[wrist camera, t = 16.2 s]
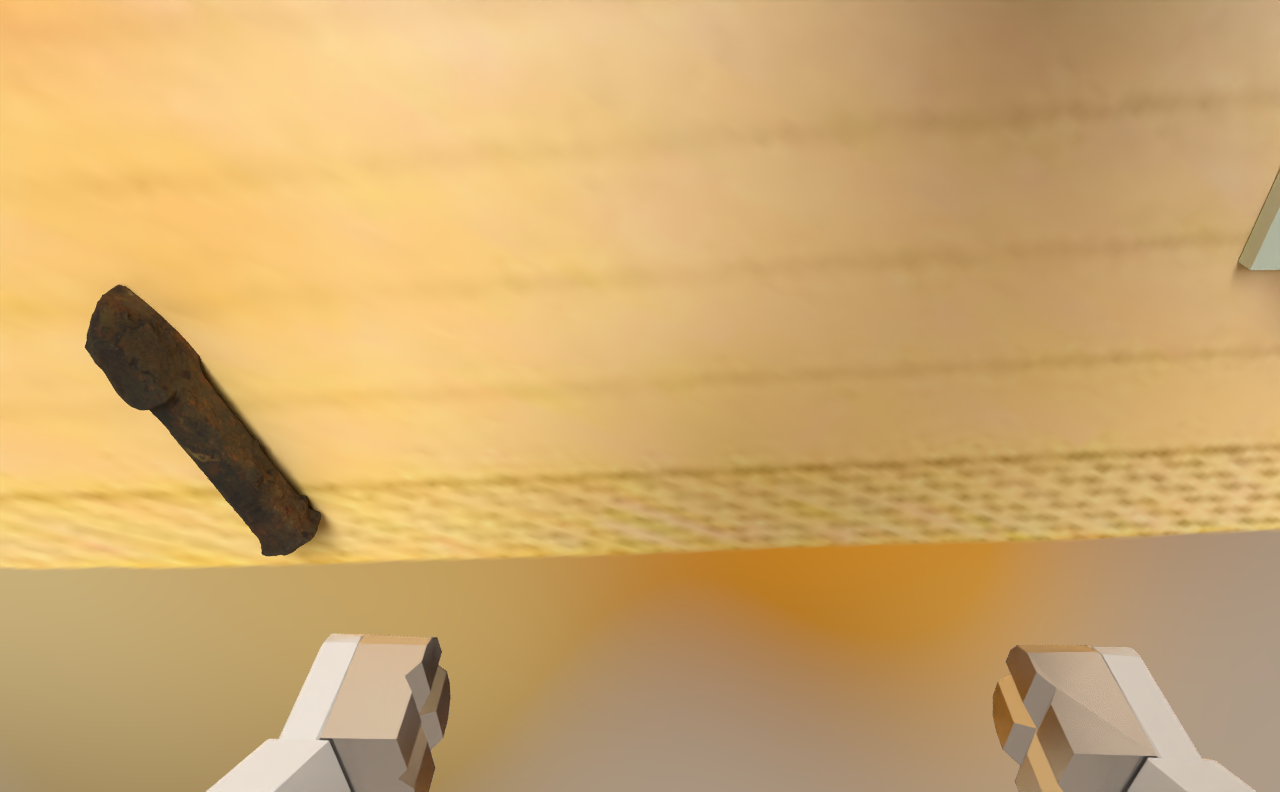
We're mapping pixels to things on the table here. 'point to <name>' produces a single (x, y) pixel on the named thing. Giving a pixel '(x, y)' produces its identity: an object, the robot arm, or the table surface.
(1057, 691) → the robot arm
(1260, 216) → the keeper board
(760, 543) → the table surface
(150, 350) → the hand tool
